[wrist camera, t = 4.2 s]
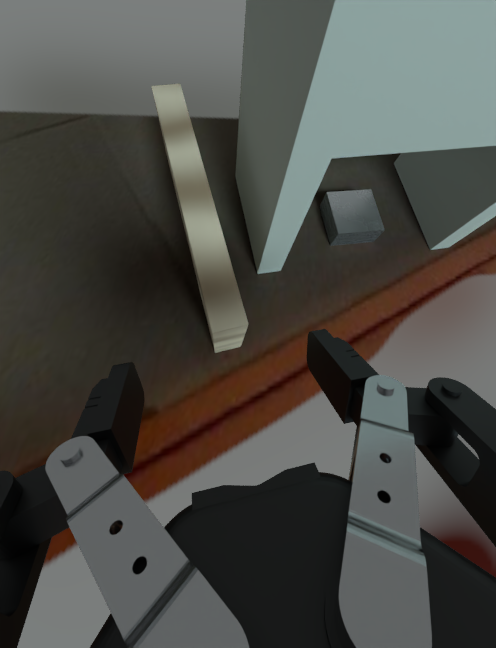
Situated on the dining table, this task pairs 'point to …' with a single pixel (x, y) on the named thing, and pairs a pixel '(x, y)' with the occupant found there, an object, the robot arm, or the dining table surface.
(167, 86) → the beech blade
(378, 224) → the block
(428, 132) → the desk
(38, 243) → the dining table surface
